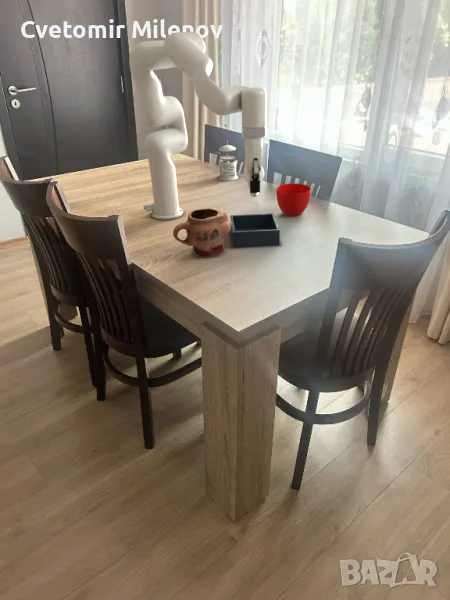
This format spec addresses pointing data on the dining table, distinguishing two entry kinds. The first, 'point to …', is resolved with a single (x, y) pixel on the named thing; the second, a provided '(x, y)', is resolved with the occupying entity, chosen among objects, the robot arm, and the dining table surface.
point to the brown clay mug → (205, 231)
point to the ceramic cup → (293, 198)
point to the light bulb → (248, 177)
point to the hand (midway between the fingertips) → (253, 188)
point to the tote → (254, 230)
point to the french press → (226, 173)
